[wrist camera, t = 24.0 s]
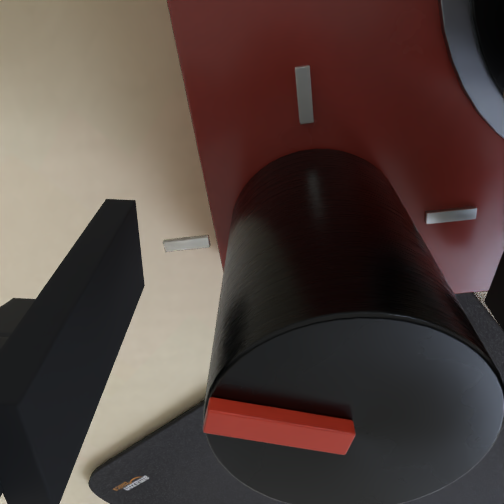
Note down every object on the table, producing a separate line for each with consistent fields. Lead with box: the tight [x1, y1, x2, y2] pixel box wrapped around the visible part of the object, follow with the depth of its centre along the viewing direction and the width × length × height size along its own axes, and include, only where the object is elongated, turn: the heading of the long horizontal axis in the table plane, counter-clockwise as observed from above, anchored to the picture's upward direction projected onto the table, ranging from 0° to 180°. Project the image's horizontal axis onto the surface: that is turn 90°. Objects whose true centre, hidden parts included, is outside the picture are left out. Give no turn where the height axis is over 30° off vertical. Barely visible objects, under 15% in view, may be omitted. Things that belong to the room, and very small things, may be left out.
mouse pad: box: [89, 292, 504, 504], centre depth 25 cm, size 23×20×1 cm
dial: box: [203, 149, 504, 504], centre depth 11 cm, size 5×5×7 cm
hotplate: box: [163, 0, 504, 294], centre depth 12 cm, size 18×20×3 cm
